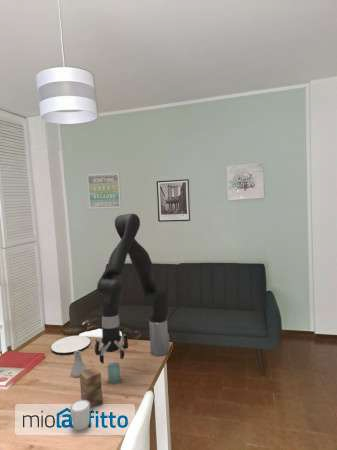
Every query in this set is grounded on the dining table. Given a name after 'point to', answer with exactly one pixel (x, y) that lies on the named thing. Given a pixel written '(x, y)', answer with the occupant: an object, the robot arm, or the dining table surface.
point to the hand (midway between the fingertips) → (112, 360)
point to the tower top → (90, 380)
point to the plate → (70, 344)
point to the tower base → (92, 397)
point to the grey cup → (80, 414)
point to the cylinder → (114, 373)
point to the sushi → (112, 349)
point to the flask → (78, 365)
